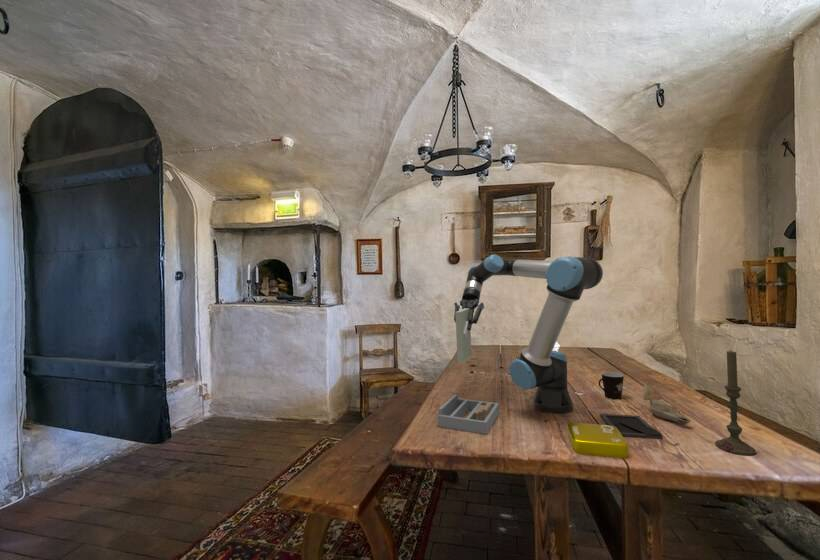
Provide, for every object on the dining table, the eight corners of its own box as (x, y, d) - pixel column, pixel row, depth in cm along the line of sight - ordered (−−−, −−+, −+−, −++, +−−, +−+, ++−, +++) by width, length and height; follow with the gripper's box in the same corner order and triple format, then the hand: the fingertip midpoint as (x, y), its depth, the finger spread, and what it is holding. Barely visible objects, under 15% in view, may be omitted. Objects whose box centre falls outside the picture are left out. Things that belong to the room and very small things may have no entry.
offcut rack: (499, 413, 140) (498, 398, 140) (486, 434, 121) (486, 416, 121) (456, 407, 148) (455, 393, 148) (437, 426, 129) (437, 410, 129)
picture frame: (662, 441, 114) (638, 419, 131) (662, 434, 114) (638, 414, 131) (617, 438, 117) (600, 417, 134) (616, 432, 117) (599, 412, 134)
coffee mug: (618, 394, 160) (617, 372, 160) (628, 400, 151) (627, 377, 151) (591, 393, 161) (591, 372, 161) (600, 400, 152) (599, 377, 152)
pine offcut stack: (492, 418, 136) (491, 402, 136) (486, 426, 128) (486, 410, 128) (480, 416, 138) (480, 401, 138) (474, 424, 130) (474, 408, 130)
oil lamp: (657, 407, 142) (656, 382, 142) (700, 429, 121) (699, 400, 121) (635, 408, 142) (635, 383, 142) (675, 429, 121) (674, 400, 121)
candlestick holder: (707, 442, 111) (703, 347, 111) (733, 440, 111) (730, 346, 112) (736, 456, 102) (732, 352, 102) (765, 454, 102) (761, 351, 103)
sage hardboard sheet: (471, 354, 150) (469, 308, 150) (462, 362, 138) (460, 312, 138) (467, 354, 151) (465, 308, 151) (457, 362, 139) (455, 312, 139)
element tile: (566, 434, 120) (566, 420, 121) (616, 438, 116) (615, 423, 116) (573, 454, 106) (573, 438, 106) (630, 460, 102) (629, 443, 102)
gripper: (490, 298, 156) (482, 342, 141) (457, 298, 163) (446, 340, 148) (487, 286, 152) (478, 330, 136) (453, 287, 158) (441, 329, 143)
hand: (461, 335), depth 142 cm, fingers closed on sage hardboard sheet, 2 cm apart
